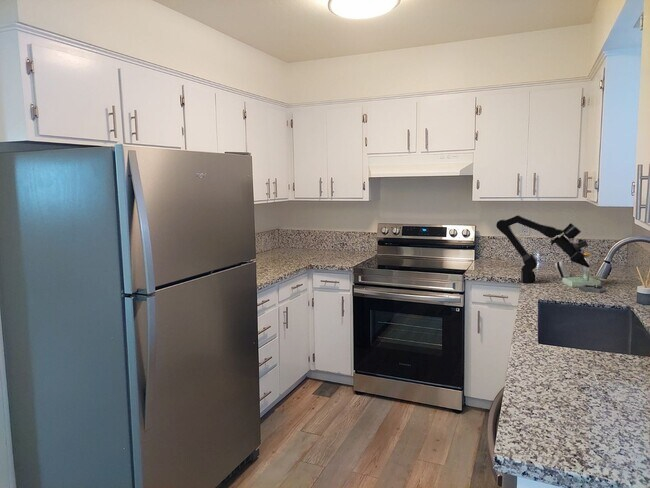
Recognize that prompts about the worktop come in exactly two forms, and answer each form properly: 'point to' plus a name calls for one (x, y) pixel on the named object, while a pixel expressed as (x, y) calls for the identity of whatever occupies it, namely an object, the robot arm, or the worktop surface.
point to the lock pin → (586, 269)
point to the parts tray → (580, 281)
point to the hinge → (561, 270)
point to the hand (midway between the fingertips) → (589, 266)
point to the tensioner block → (592, 288)
